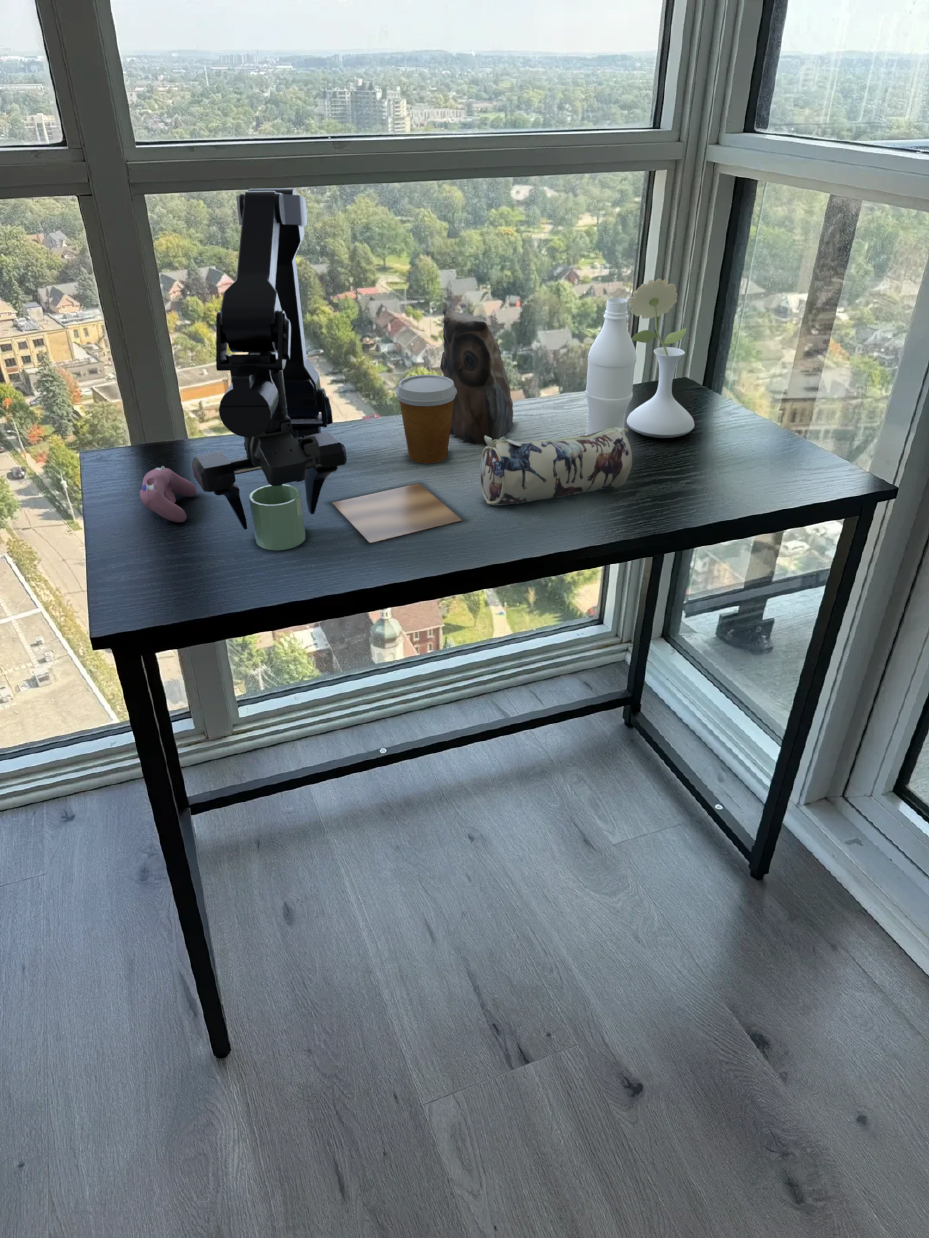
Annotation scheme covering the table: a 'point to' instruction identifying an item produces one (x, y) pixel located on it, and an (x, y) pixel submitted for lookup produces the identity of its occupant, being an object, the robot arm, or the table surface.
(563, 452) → the pencil case
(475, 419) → the owl
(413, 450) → the disposable coffee cup
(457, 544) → the table surface
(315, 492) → the robot arm
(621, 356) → the water bottle
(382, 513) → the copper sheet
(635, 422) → the flower in vase
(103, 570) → the table surface
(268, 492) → the glazed cup
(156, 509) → the video game controller
